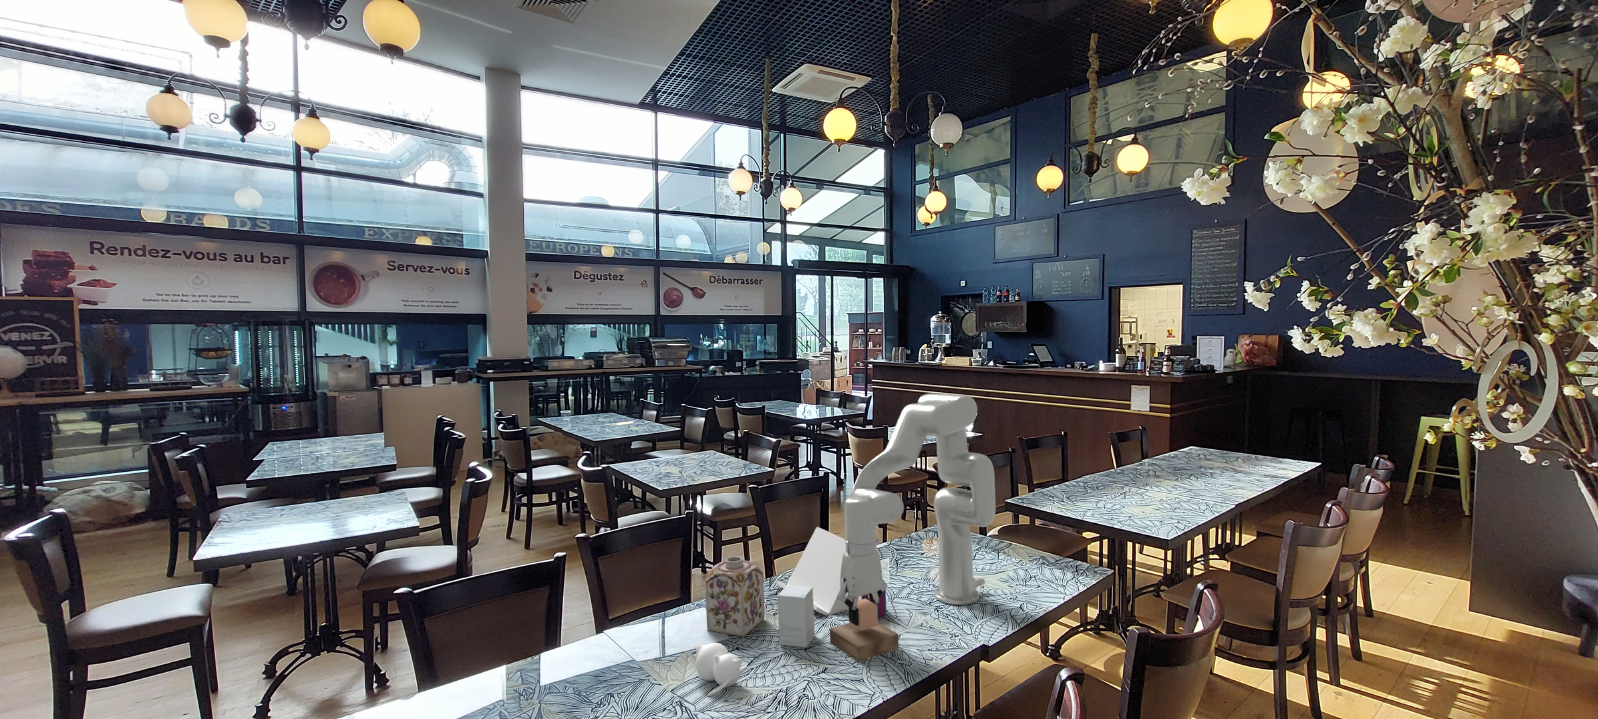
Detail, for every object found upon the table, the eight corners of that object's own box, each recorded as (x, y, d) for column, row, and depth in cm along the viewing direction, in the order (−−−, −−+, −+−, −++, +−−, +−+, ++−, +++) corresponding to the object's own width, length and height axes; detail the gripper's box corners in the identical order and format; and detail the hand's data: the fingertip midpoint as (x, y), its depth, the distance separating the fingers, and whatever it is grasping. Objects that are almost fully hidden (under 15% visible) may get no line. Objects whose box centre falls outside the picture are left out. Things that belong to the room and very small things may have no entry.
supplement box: (815, 635, 166) (814, 586, 166) (806, 648, 159) (804, 597, 159) (788, 632, 169) (787, 583, 169) (778, 644, 162) (776, 594, 162)
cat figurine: (739, 646, 141) (705, 629, 150) (707, 688, 135) (673, 668, 143) (756, 671, 145) (721, 652, 153) (725, 713, 139) (691, 692, 147)
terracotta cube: (865, 618, 163) (865, 598, 163) (877, 625, 159) (877, 604, 159) (849, 623, 161) (848, 603, 161) (861, 630, 156) (860, 609, 156)
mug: (890, 615, 177) (890, 591, 177) (857, 622, 173) (856, 597, 173) (879, 606, 183) (878, 582, 183) (847, 612, 180) (846, 588, 179)
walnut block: (868, 632, 168) (868, 616, 168) (898, 650, 158) (898, 633, 158) (830, 644, 162) (829, 628, 162) (858, 663, 152) (858, 647, 152)
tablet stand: (825, 577, 207) (823, 525, 207) (871, 604, 186) (869, 545, 185) (775, 590, 199) (773, 534, 198) (816, 619, 177) (814, 557, 176)
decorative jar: (765, 619, 177) (763, 554, 176) (744, 637, 166) (742, 568, 166) (728, 613, 182) (725, 549, 182) (705, 630, 171) (702, 562, 171)
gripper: (879, 537, 167) (881, 607, 167) (823, 550, 158) (826, 623, 159) (897, 544, 161) (900, 617, 161) (841, 558, 152) (843, 635, 152)
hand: (863, 619), depth 160 cm, fingers closed on terracotta cube, 4 cm apart
